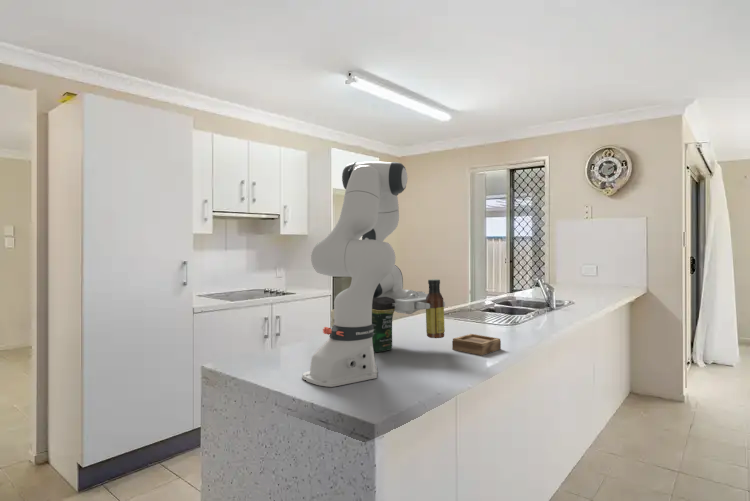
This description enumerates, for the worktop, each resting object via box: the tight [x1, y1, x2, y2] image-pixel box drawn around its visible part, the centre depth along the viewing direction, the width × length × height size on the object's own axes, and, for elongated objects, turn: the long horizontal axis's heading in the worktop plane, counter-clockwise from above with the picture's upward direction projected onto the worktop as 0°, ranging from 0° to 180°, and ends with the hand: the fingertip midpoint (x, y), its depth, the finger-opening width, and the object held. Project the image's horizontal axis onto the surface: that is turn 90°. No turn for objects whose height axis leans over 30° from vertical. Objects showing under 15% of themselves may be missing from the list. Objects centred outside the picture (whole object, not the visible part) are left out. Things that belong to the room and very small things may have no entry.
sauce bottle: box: [425, 278, 446, 339], centre depth 159 cm, size 7×6×20 cm
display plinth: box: [452, 333, 502, 356], centre depth 162 cm, size 12×12×4 cm
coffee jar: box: [372, 297, 395, 353], centre depth 161 cm, size 10×8×19 cm
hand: (437, 305), depth 158 cm, fingers closed on sauce bottle, 6 cm apart
